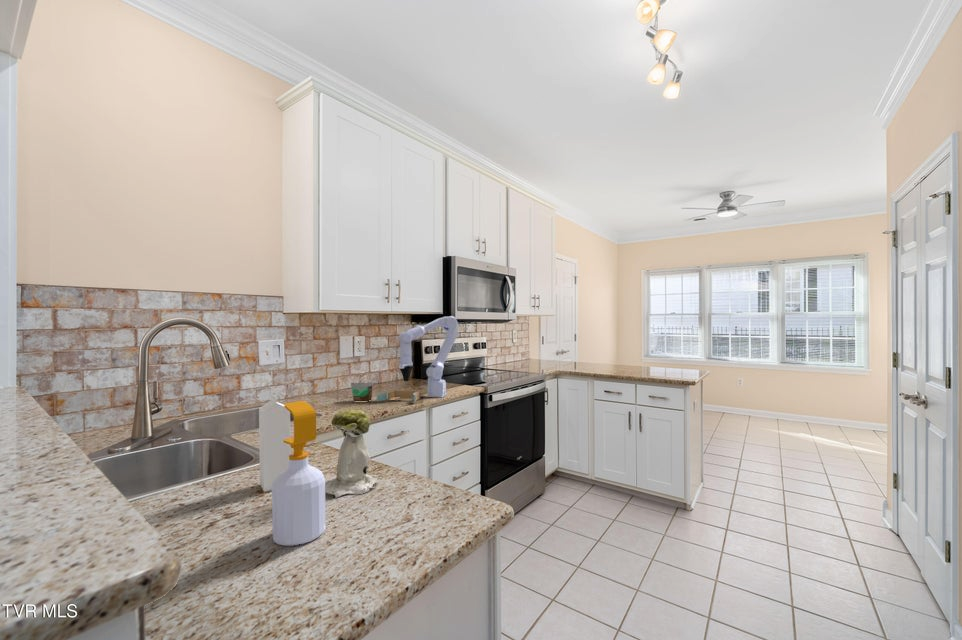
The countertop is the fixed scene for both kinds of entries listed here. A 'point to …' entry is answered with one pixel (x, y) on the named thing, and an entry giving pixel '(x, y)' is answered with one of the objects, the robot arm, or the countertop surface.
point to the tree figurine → (351, 455)
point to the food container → (362, 391)
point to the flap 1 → (381, 396)
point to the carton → (404, 395)
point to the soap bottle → (299, 486)
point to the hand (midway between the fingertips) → (406, 381)
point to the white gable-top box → (273, 442)
